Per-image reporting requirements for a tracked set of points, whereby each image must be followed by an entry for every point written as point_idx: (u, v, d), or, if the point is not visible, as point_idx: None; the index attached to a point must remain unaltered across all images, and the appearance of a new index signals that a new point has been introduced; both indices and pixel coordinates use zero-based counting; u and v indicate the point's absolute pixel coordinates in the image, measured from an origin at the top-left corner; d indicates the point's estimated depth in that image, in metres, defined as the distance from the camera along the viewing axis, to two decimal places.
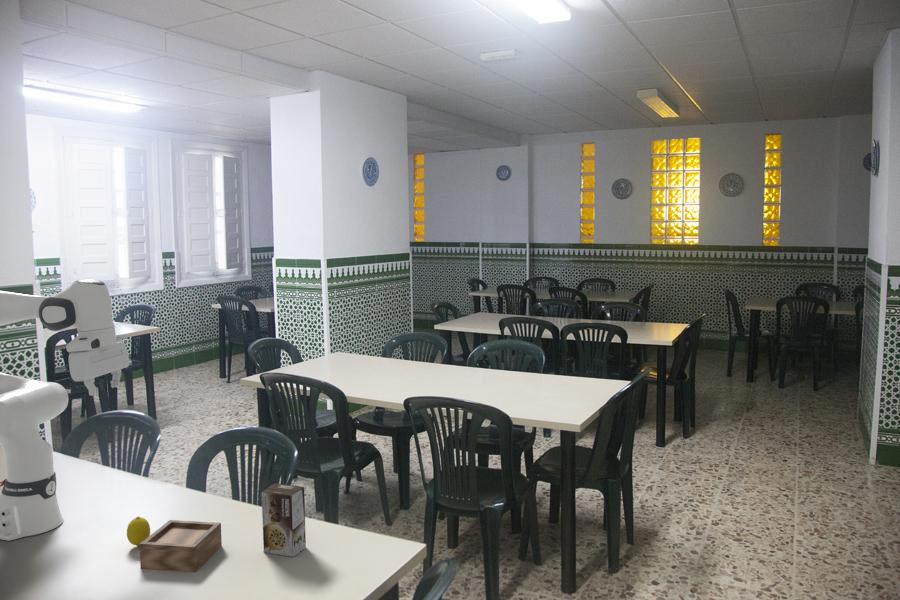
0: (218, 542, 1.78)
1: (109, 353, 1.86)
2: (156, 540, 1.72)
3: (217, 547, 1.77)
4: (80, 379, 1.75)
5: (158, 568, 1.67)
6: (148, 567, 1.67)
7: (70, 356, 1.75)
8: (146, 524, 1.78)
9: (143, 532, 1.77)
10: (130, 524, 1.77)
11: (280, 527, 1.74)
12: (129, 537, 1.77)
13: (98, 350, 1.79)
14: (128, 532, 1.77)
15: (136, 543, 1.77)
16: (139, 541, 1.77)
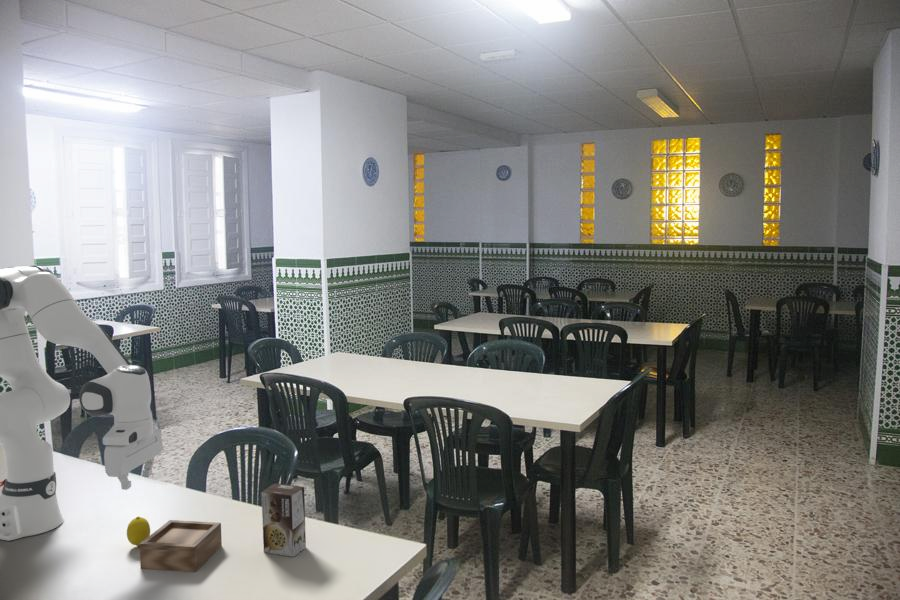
0: (218, 542, 1.78)
1: (144, 443, 1.78)
2: (156, 540, 1.72)
3: (217, 547, 1.77)
4: (115, 475, 1.67)
5: (158, 568, 1.67)
6: (148, 567, 1.67)
7: (106, 450, 1.68)
8: (146, 524, 1.78)
9: (143, 532, 1.77)
10: (130, 524, 1.77)
11: (280, 527, 1.74)
12: (129, 537, 1.77)
13: (135, 443, 1.72)
14: (128, 532, 1.77)
15: (136, 543, 1.77)
16: (139, 541, 1.77)
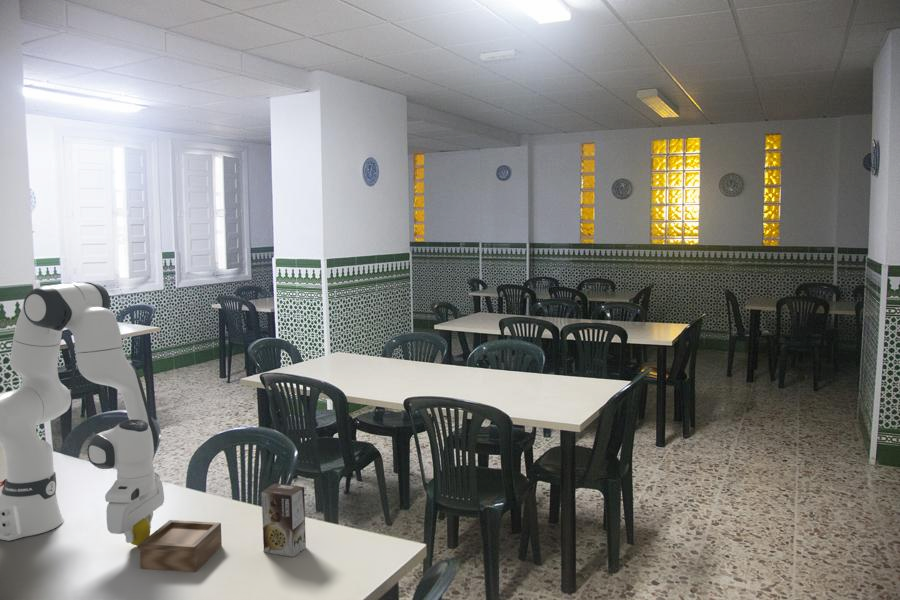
0: (218, 542, 1.78)
1: (146, 496, 1.80)
2: (156, 540, 1.72)
3: (217, 547, 1.77)
4: (117, 532, 1.69)
5: (158, 568, 1.67)
6: (148, 567, 1.67)
7: (108, 507, 1.69)
8: (146, 524, 1.78)
9: (143, 532, 1.77)
10: None
11: (280, 527, 1.74)
12: None
13: (137, 499, 1.73)
14: None
15: (136, 543, 1.77)
16: (139, 541, 1.77)
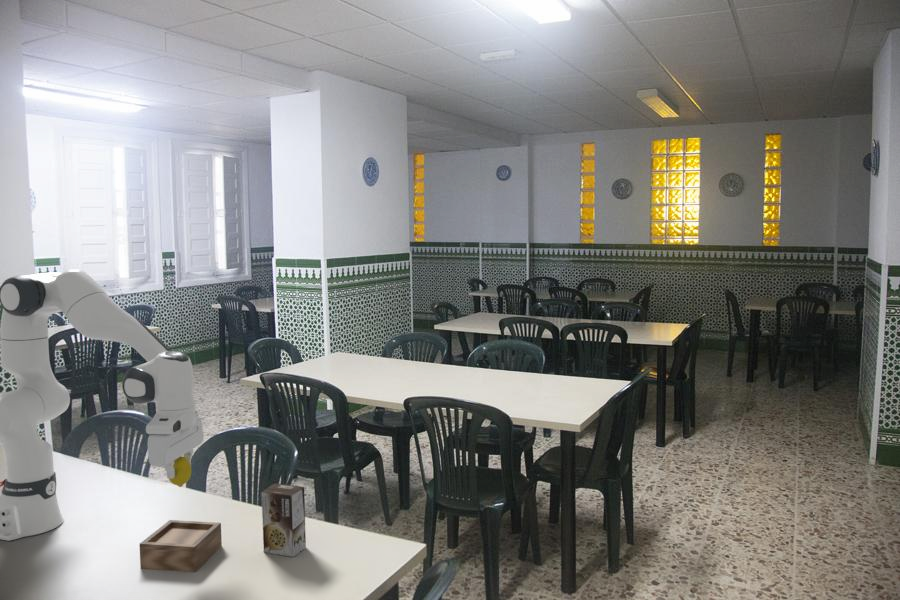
0: (218, 542, 1.78)
1: (186, 432, 1.72)
2: (156, 540, 1.72)
3: (217, 547, 1.77)
4: (159, 465, 1.61)
5: (158, 568, 1.67)
6: (148, 567, 1.67)
7: (149, 439, 1.62)
8: (187, 463, 1.71)
9: (185, 471, 1.70)
10: None
11: (280, 527, 1.74)
12: None
13: (178, 432, 1.66)
14: None
15: (177, 482, 1.70)
16: (180, 480, 1.70)
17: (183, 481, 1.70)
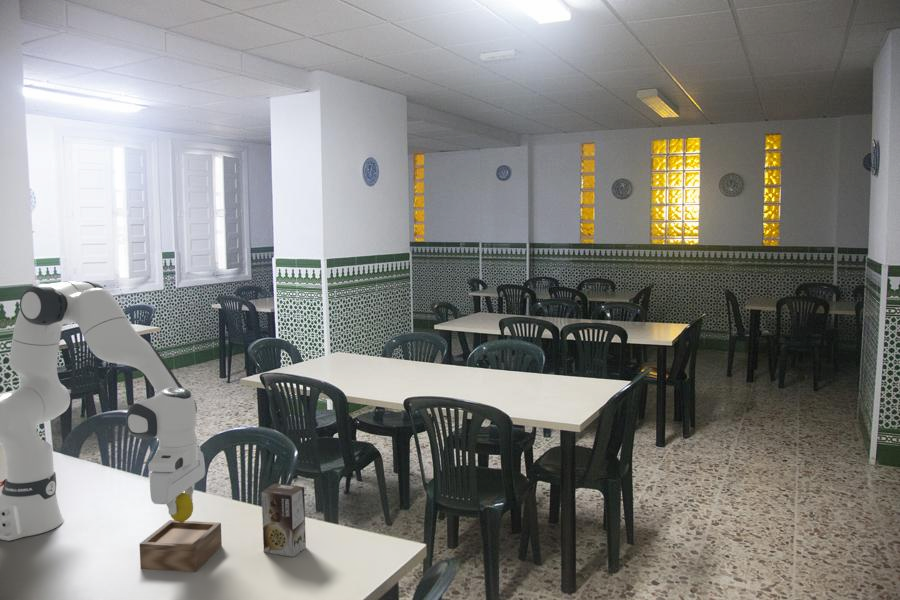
0: (218, 542, 1.78)
1: (188, 467, 1.73)
2: (156, 540, 1.72)
3: (217, 547, 1.77)
4: (161, 503, 1.62)
5: (158, 568, 1.67)
6: (148, 567, 1.67)
7: (152, 476, 1.63)
8: (189, 499, 1.72)
9: (186, 508, 1.71)
10: None
11: (280, 527, 1.74)
12: None
13: (180, 469, 1.67)
14: None
15: (179, 519, 1.71)
16: (182, 517, 1.70)
17: (185, 518, 1.71)
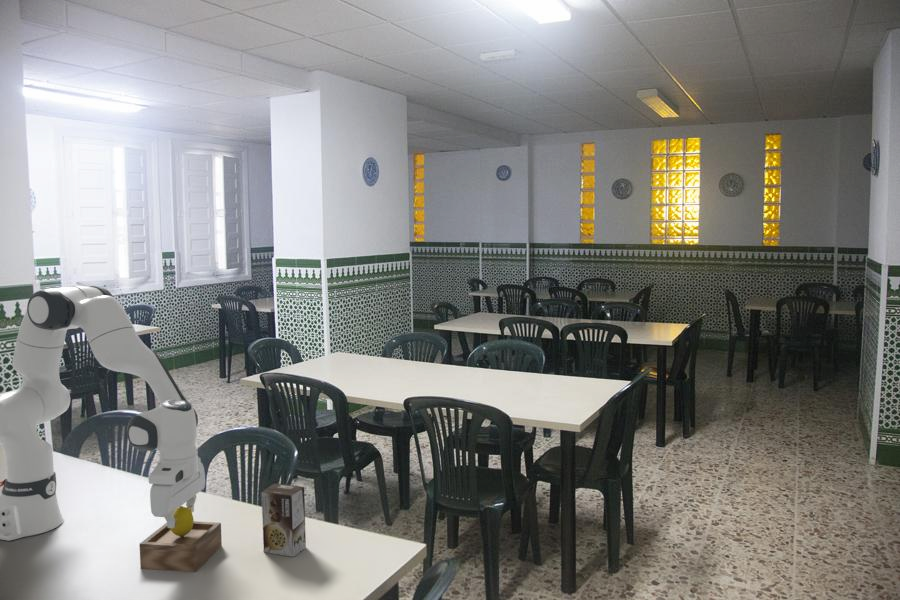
0: (218, 542, 1.78)
1: None
2: (156, 540, 1.72)
3: (217, 547, 1.77)
4: (161, 515, 1.63)
5: (158, 568, 1.67)
6: (148, 567, 1.67)
7: (152, 489, 1.63)
8: (190, 514, 1.72)
9: (187, 522, 1.71)
10: None
11: (280, 527, 1.74)
12: None
13: (181, 481, 1.67)
14: None
15: (179, 534, 1.71)
16: (182, 531, 1.71)
17: (185, 532, 1.71)
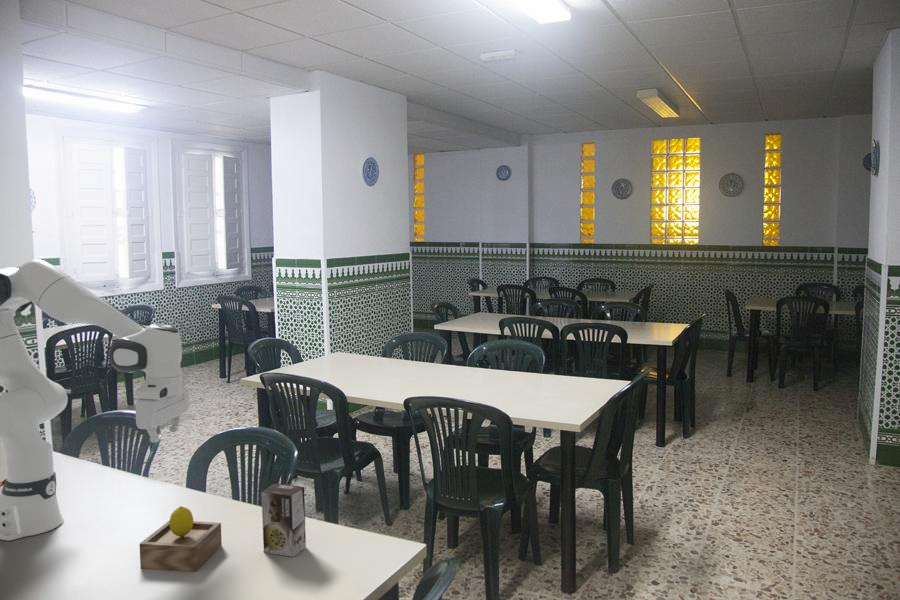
0: (218, 542, 1.78)
1: (173, 399, 1.85)
2: (156, 540, 1.72)
3: (217, 547, 1.77)
4: (145, 427, 1.74)
5: (158, 568, 1.67)
6: (148, 567, 1.67)
7: (138, 403, 1.75)
8: (189, 514, 1.72)
9: (187, 523, 1.71)
10: (173, 514, 1.71)
11: (280, 527, 1.74)
12: (172, 527, 1.71)
13: (165, 398, 1.79)
14: (171, 522, 1.71)
15: (179, 534, 1.71)
16: (182, 532, 1.71)
17: (185, 532, 1.71)
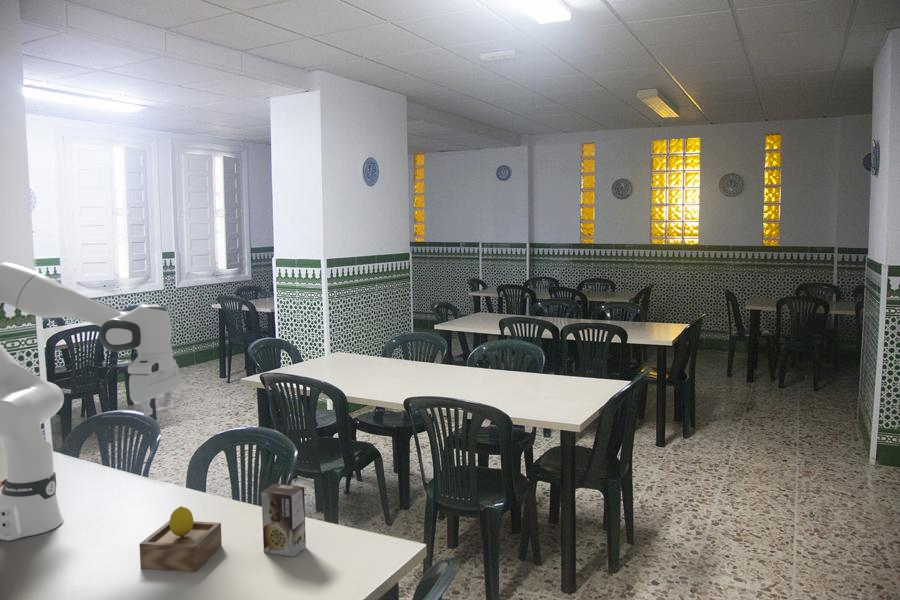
0: (218, 542, 1.78)
1: (164, 375, 1.95)
2: (156, 540, 1.72)
3: (217, 547, 1.77)
4: (138, 400, 1.84)
5: (158, 568, 1.67)
6: (148, 567, 1.67)
7: (131, 378, 1.85)
8: (189, 514, 1.72)
9: (187, 522, 1.71)
10: (173, 514, 1.71)
11: (280, 527, 1.74)
12: (172, 527, 1.71)
13: (156, 373, 1.89)
14: (171, 522, 1.71)
15: (179, 534, 1.71)
16: (182, 532, 1.71)
17: (185, 532, 1.71)
